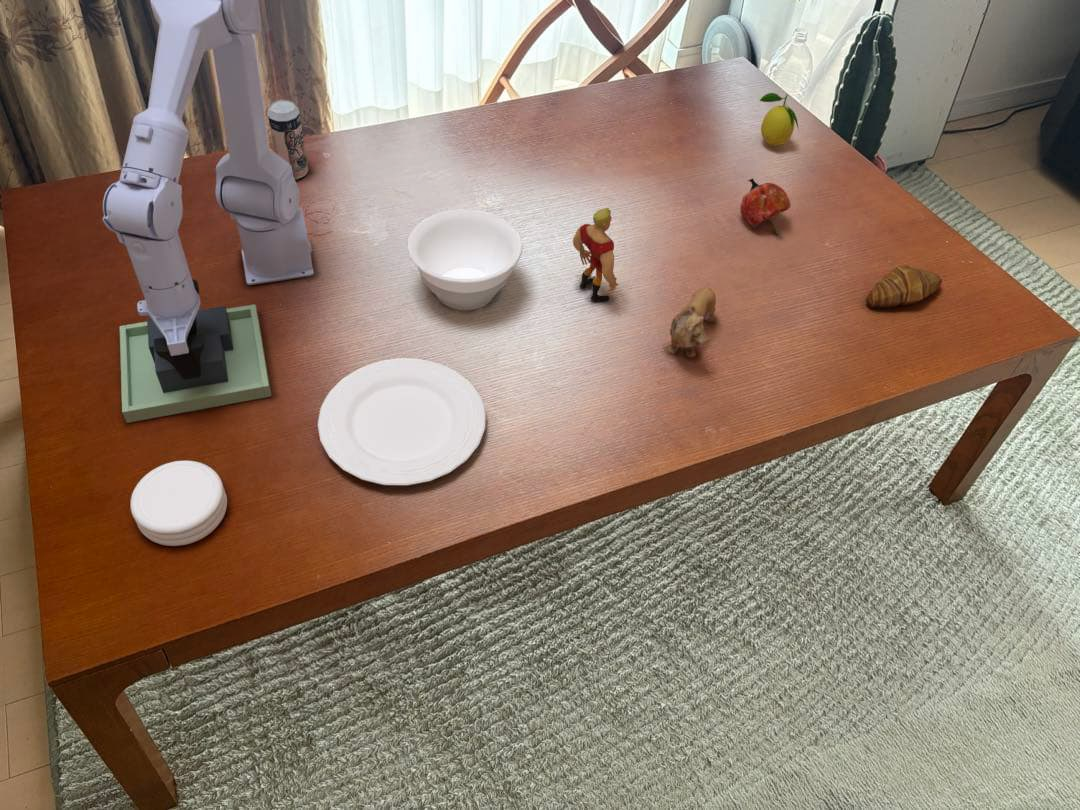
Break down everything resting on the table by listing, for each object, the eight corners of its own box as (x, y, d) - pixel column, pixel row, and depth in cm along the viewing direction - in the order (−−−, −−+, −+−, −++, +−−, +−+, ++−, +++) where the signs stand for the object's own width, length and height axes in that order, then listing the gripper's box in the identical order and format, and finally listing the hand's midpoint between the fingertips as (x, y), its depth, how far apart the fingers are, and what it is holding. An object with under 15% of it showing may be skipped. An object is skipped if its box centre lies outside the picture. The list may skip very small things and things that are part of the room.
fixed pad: (229, 322, 126) (225, 305, 124) (233, 349, 123) (229, 333, 121) (152, 334, 124) (146, 318, 122) (154, 363, 121) (148, 347, 118)
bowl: (387, 288, 133) (382, 241, 127) (466, 240, 142) (466, 194, 135) (464, 345, 127) (463, 298, 120) (542, 291, 135) (546, 245, 129)
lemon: (750, 134, 166) (763, 83, 158) (782, 134, 166) (796, 83, 159) (760, 156, 161) (774, 104, 154) (792, 155, 162) (808, 104, 154)
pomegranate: (785, 234, 151) (763, 177, 150) (809, 222, 144) (785, 162, 143) (747, 249, 149) (724, 191, 149) (769, 238, 142) (745, 177, 142)
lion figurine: (697, 379, 125) (710, 331, 118) (659, 369, 126) (670, 321, 119) (717, 309, 135) (730, 262, 128) (681, 300, 135) (692, 252, 129)
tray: (258, 315, 128) (255, 304, 127) (271, 396, 119) (268, 385, 117) (123, 337, 124) (119, 325, 123) (126, 423, 115) (121, 412, 113)
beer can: (302, 183, 149) (291, 117, 139) (274, 178, 149) (261, 112, 140) (313, 167, 152) (303, 101, 143) (285, 162, 152) (273, 96, 143)
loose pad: (224, 354, 122) (218, 333, 119) (228, 381, 119) (222, 360, 116) (161, 365, 120) (153, 343, 117) (163, 393, 117) (155, 371, 114)
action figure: (621, 308, 134) (635, 224, 122) (600, 316, 132) (613, 232, 121) (585, 269, 139) (595, 186, 127) (565, 277, 137) (574, 193, 126)
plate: (345, 515, 108) (343, 506, 106) (301, 390, 120) (299, 380, 118) (510, 464, 114) (511, 454, 112) (452, 350, 126) (452, 340, 125)
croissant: (920, 271, 143) (933, 246, 139) (950, 299, 139) (963, 274, 135) (851, 293, 139) (861, 267, 135) (879, 322, 135) (891, 297, 131)
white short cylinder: (118, 530, 104) (109, 512, 102) (172, 465, 111) (165, 447, 108) (194, 560, 103) (187, 543, 100) (244, 492, 109) (239, 474, 106)
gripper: (125, 239, 111) (154, 321, 121) (128, 321, 102) (159, 402, 112) (186, 230, 112) (210, 312, 122) (195, 310, 103) (219, 391, 114)
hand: (190, 355), depth 117 cm, fingers open, 7 cm apart
